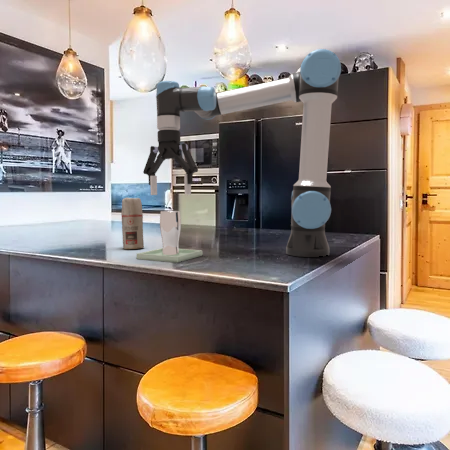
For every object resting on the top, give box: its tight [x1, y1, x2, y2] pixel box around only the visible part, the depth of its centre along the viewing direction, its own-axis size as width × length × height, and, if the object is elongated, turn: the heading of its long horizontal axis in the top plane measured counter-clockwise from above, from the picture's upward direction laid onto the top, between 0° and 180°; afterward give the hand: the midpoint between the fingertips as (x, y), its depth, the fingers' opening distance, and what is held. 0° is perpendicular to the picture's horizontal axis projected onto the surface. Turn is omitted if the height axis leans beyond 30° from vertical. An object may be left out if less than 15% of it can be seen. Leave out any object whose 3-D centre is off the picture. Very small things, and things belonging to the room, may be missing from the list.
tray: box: [136, 247, 204, 264], centre depth 139 cm, size 16×16×2 cm
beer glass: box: [159, 210, 182, 256], centre depth 138 cm, size 7×7×15 cm
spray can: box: [121, 197, 145, 250], centre depth 159 cm, size 8×8×20 cm
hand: (170, 194), depth 137 cm, fingers open, 13 cm apart
